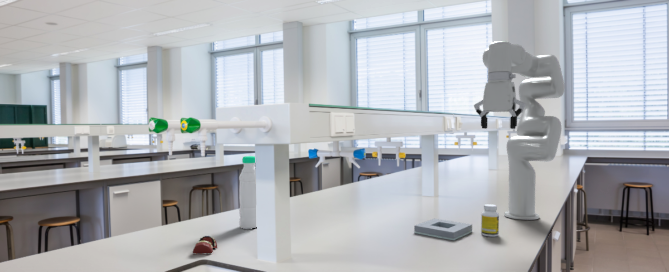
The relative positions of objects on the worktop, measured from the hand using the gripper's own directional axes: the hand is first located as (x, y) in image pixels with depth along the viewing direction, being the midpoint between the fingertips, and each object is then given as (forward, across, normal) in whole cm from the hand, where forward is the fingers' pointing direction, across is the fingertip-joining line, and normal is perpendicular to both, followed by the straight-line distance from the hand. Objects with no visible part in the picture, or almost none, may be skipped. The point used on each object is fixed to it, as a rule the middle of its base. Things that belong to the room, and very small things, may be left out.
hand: (498, 128), depth 147 cm
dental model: (+37, +54, +79) cm, 103 cm away
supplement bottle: (+35, -1, +8) cm, 36 cm away
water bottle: (+36, +67, +53) cm, 93 cm away
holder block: (+35, +12, +15) cm, 40 cm away
